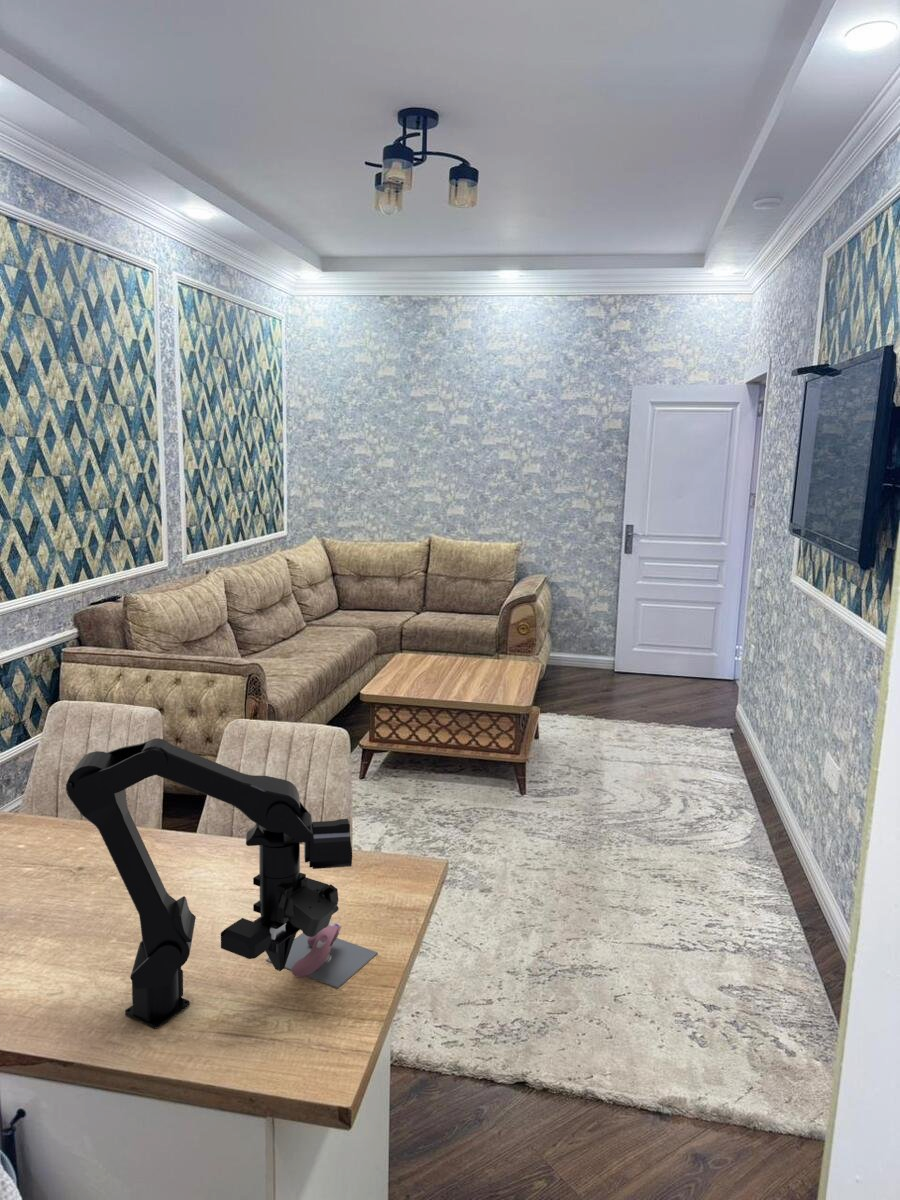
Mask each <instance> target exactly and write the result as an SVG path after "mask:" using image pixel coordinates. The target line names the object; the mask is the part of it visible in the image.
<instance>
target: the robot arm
mask: <svg viewBox="0 0 900 1200" xmlns="http://www.w3.org/2000/svg"><path fill="white" fill-rule="evenodd" d="M153 776H158V777H161V778H163V779H165V780H167V781H171V782H172V783H176V784H178V785H180V786H183V787H186V788H188V789H190V790H193V791H196V792H199V793H201V794H204V795H205V796H208V797H211V798H213V799H216V800H219V801H221V802H224V803H226V804H228V805H231V806H232V807H235V808H236V809H238V810H239V811H240V812H241V813H242V814H243V815H244V816H246V817H247V818H248V819H249V820H250V821H252V822H254V823H255V825H254V827H252V828H251V829H250V830H248V831H246V837H245V845H246V846H247V847H256V846H259V847H258V849H259V850H258V852H259V853H258V854H259V857H258V858H259V859H258V862H259V863H258V865H259V873H258V874H257V875H255V876H254V877H253V878H252V879H253V880H252V885H253V886H258V887H259V900H258V901H257V902H255V903H253V906H252V907H253V909H252V910H253V912H255V913H258V914H260V917H258V918H257V919H255V920H253V921H252V920H249V919H247V918H243V917H242V918H240V919H238V920H237V921H235V922H234V923H232V924H231V925H229V926H227V927H226V928H225V929H223V930H222V931H221V932H220V948H221V949H222V950H224V951H227V952H229V953H233V954H235V955H237V956H240V957H243V958H245V959H247V960H252V959H256V958H258V957H259V956H261V955H262V954H263V953H265V952H266V955H267V956H268V958H269V959H270V960H271V962H272V963H271V964H272V966H273V967H274V969H275V970H276V971H278V972H281V971H283V970H284V969H286V968H285V965H286V962H287V959H288V956H289V953H290V950H291V947H292V944H293V941H294V939H295V938H296V936H297V934H298V933H299V932H300V931H301V932H302V933H304V934H305V935H306V936H309V937H313V936H315V935H317V933H318V932H320V931H321V930H322V929H324V928H326V927H327V926H328V925H329V922H331V920H332V915H334V914H335V913H336V912H338V911H339V910H340V909H339V906H338V904H339V892H338V891H339V890H338V888H336V887H335V886H334V885H333V884H328V883H325V882H322V881H318V880H316V879H312V878H309V877H307V874H306V873H303V872H300V871H301V869H300V868H301V867H300V866H301V864H300V863H301V861H300V860H301V858H300V857H301V856H300V855H301V844H303V845H304V847H303V848H304V849H303V851H304V852H303V853H304V857H303V858H304V863H308V864H309V865H308V866H309V868H312V870H317V869H318V870H319V869H333V868H346V867H347V868H348V867H352V866H353V865H352V864H353V847H352V843H351V823H350V819H349V818H341V819H340V818H339V819H336V820H324V821H313V819H312V814H311V813H310V811H308V809H307V808H306V807H305V806H304V805H303V803H302V802H301V801H300V793H299V790H298V789H297V786H296V785H295V784H294V783H292V782H291V781H289V780H287V779H282V778H278V777H273V776H267V775H251V774H246V773H243V772H240V771H238V770H235V769H233V768H230V767H228V766H225V765H223V764H221V763H218V762H216V761H213V760H211V759H209V758H205V757H203V756H200V755H198V754H196V753H193V752H191V751H189V750H186V749H184V748H181V747H179V746H176V745H174V744H171V743H170V742H168V740H165V739H163V738H159V737H158V738H152V739H150V740H148V741H145V742H142V743H136V744H132V745H127V746H122V747H118V748H116V749H112V750H110V751H107V752H105V751H99V750H96V751H92V752H89V753H87V754H85V755H84V756H82V758H80V759H79V761H78V763H77V764H76V765H75V768H73V771H72V772H71V773H70V775H69V776H68V779H67V781H66V784H65V792H66V794H67V796H68V798H69V800H70V801H71V803H72V804H73V805H74V807H75V808H76V809H77V810H78V812H79V813H80V815H81V816H82V817H83V818H84V819H85V820H87V821H88V822H90V823H91V824H92V825H93V826H95V828H96V829H97V830H98V832H99V834H100V836H101V838H102V840H103V843H104V844H105V847H106V849H107V851H108V852H109V855H110V856H111V859H112V861H113V863H114V865H115V867H116V869H117V872H118V873H119V875H120V878H121V880H122V882H123V884H124V886H125V888H126V890H127V892H128V894H129V896H130V898H131V900H132V903H133V905H134V907H135V910H136V911H137V913H138V915H139V922H140V923H139V924H140V930H141V931H140V932H141V941H140V942H139V945H138V949H137V951H136V955H135V959H134V963H133V966H132V970H131V972H130V973H131V974H130V977H129V978H130V980H131V994H132V995H131V997H132V998H131V999H132V1005H131V1006H129V1007H128V1008H126V1009H125V1011H124V1014H125V1016H127V1017H129V1018H131V1019H134V1020H136V1021H137V1022H140V1023H142V1024H145V1025H147V1026H149V1027H151V1028H153V1029H158V1028H160V1027H161V1026H163V1025H164V1024H166V1023H167V1022H169V1021H170V1020H171V1019H173V1018H174V1017H175V1016H177V1015H178V1014H179V1013H181V1012H182V1011H184V1010H185V1009H187V1008H188V1007H189V1006H190V1004H191V1001H190V1000H188V999H186V998H184V997H183V996H184V971H183V969H182V967H183V966H184V965H185V964H186V963H187V962H188V960H189V957H190V954H191V948H192V942H193V937H194V929H195V925H196V924H195V923H196V919H197V918H196V917H197V916H196V915H194V914H193V913H192V911H191V909H190V907H189V905H188V904H189V903H188V900H187V897H186V896H185V895H184V896H182V897H180V898H179V899H175V898H173V896H171V895H170V894H169V893H168V892H167V890H166V887H165V886H164V883H163V881H162V879H161V877H160V875H159V872H158V870H157V868H156V867H155V864H154V862H153V860H152V858H151V856H150V854H149V851H148V849H147V846H146V845H145V843H144V841H143V838H142V836H141V834H140V832H139V829H138V828H137V825H136V823H135V821H134V820H133V817H132V815H131V813H130V810H129V809H128V807H129V806H128V800H127V794H126V792H127V791H126V789H128V788H130V787H132V786H134V785H136V784H138V783H140V782H141V781H144V780H145V779H148V778H150V777H153Z"/></svg>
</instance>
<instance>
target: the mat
mask: <svg viewBox="0 0 900 1200" xmlns="http://www.w3.org/2000/svg"><path fill="white" fill-rule="evenodd" d="M308 937H309V936H306V935H305V934H304V933H303V932H302V933H301V934H299V935H298V936H297V937H296V936H295V939H294V941H293V944H292V947H291V950H290V953H289V956H288V959H287V962H286V965H285V968H284V969H286V970H288V971H291V972H292V967H293V966H294V964H295V963H296V962H297V961H299V960H300V959H302V958H304V957H305V956H306V955H307V954H308V953H309V952H310V951H311V949H312V947H310V946H309V945H308V942H307V941H308ZM330 951H331V952H330V954H329V957H330V956H331V960H330V962H328V963H327V961H328V960H327V961H326V962H324V963H323V964H322V966H321V967H320V968H319V970H316V971H314V972H313V973H311V974H309V975H307V976H305V977H307V978H309V979H312V980H315V981H317V982H320V983H322V984H325V985H327V986H331V987H333V988H336V989H339V988H341V986H343V985H344V984H345V983H346V982H348V980H349V979H351V978H352V977H353V976H354V975H355V974H357V972H358V971H360V970H361V969H362V968H363V967H364V966H366V964H368V963H369V962H370V961H371V960H372V959H374V958H375V957H376V956H377V955H378V954H379V952H378V951H375V950H372V949H369V948H367V947H363V946H360V945H358V944H355V943H352V942H349V941H347V940H343V939H341V938H338V937H337V939H336V940H335V941H334V942H333V944H332V946H331V949H330ZM265 962H268V963H271V964H272V962H271V960H270V959H269V957H268V958H267V959H265Z"/></svg>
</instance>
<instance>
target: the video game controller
mask: <svg viewBox="0 0 900 1200" xmlns="http://www.w3.org/2000/svg"><path fill="white" fill-rule="evenodd" d="M341 929H342V926H341V925H339V924H338V923H336V922H331V921H330V922H329V925H328V926H327V927H326V928H324V929H322V930H321V931H320V932H318V933H317V935H315V936H313V937H308V941H307V942H308V945H309V946H310V947H312V949H311V951H310V952H309V953H308V954H307V955H306V956H305V957H304V958H302V959H300V960H299V961H297V962H296V963H295V964H294V966H293V967H292V971H291V973H292V976H294V977H297V978H304V977H306V976H307V975H309V974H311V973H313V972H314V971H316V970H319V968H320V967H321V966H322V964H323V963H324V962H326V961H327V960H328V961H327V963H328V962H330V960H331V956H330V957H329V954H330V952H331V951H330V949H331V946H332V944H333V942H334V941H335V940H336V939H337V938H338V936H339V935H340V931H341Z"/></svg>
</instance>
